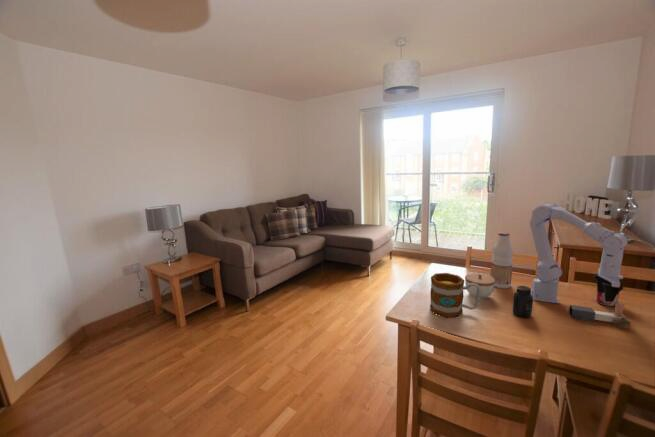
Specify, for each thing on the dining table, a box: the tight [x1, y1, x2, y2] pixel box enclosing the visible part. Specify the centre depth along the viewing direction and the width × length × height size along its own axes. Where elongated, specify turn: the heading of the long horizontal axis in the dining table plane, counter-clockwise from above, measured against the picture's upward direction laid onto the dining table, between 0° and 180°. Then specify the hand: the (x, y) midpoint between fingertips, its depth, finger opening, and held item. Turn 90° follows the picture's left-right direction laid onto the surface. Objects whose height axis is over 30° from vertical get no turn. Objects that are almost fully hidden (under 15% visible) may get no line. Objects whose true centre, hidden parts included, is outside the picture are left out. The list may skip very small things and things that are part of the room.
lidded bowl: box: [464, 272, 495, 300], centre depth 138 cm, size 13×13×11 cm
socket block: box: [607, 311, 632, 329], centre depth 112 cm, size 4×6×3 cm
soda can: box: [595, 289, 620, 307], centre depth 126 cm, size 7×7×12 cm
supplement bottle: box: [512, 285, 534, 319], centre depth 120 cm, size 7×7×12 cm
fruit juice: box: [489, 231, 515, 289], centre depth 147 cm, size 9×9×28 cm
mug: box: [429, 272, 480, 319], centre depth 125 cm, size 20×14×15 cm
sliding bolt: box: [594, 301, 625, 323], centre depth 113 cm, size 10×3×8 cm, turn 63°
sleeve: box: [568, 304, 596, 323], centre depth 117 cm, size 7×4×4 cm, turn 63°
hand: (605, 296), depth 115 cm, fingers open, 7 cm apart
